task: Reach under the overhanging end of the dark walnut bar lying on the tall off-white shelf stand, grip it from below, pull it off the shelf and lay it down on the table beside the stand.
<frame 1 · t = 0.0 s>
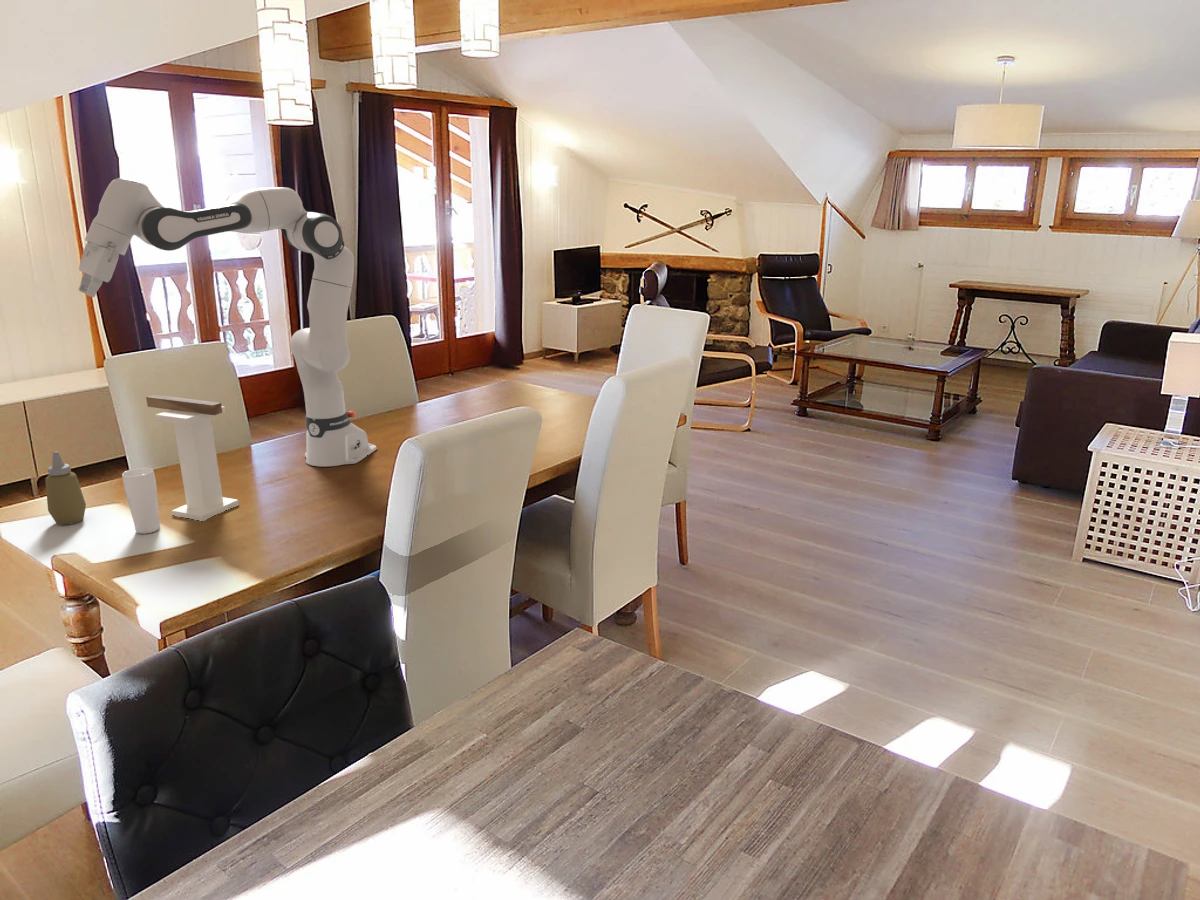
hand: (85, 294, 208), 54 cm above the table, tool tilted 30°, fingers open, 8 cm apart
walnut bar: (184, 409, 212), point 26 cm above the table, touching shelf stand
shelf stand: (206, 510, 220), on the table
drinking glass: (148, 531, 208), on the table
squeeze bottle: (70, 522, 213), on the table
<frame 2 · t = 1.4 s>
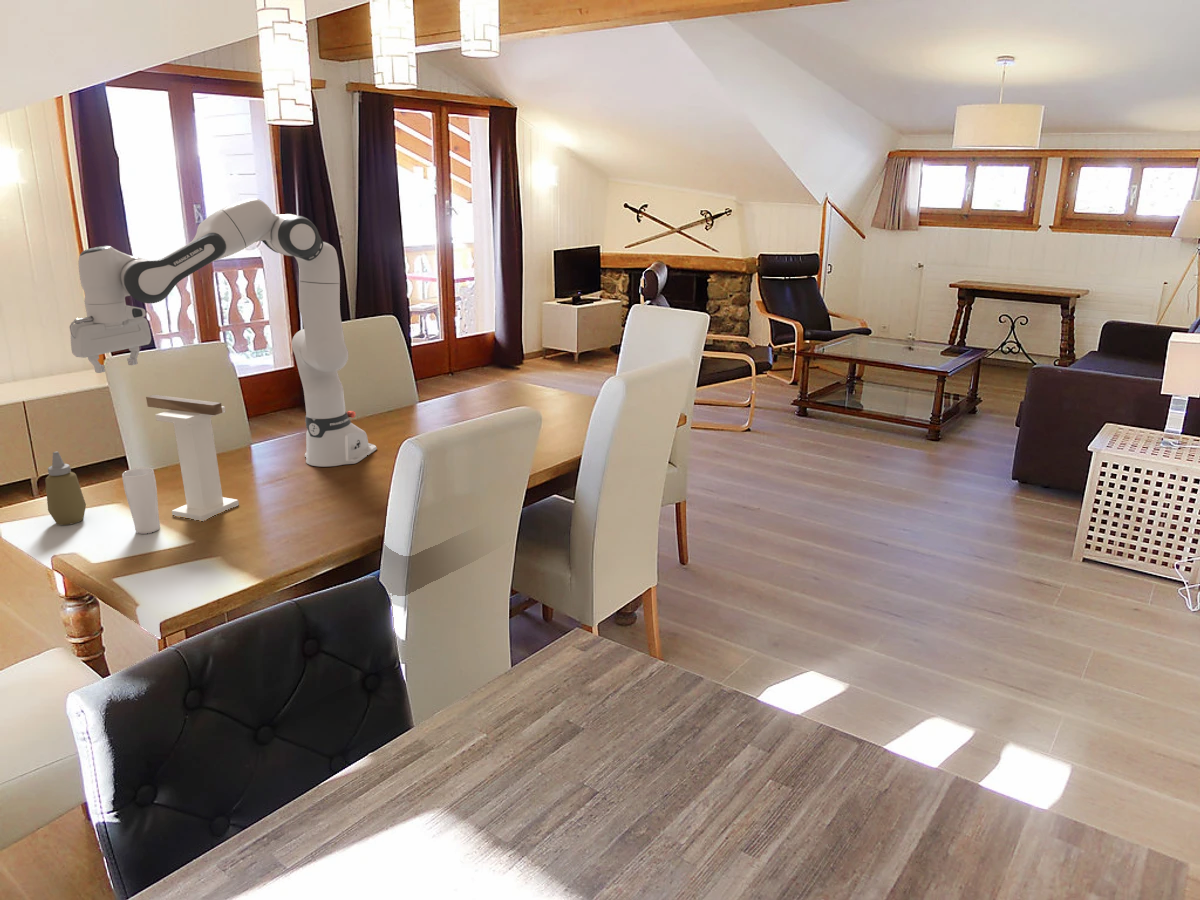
hand: (117, 368, 217), 35 cm above the table, tool pointing down, fingers open, 8 cm apart
nothing on the table moved.
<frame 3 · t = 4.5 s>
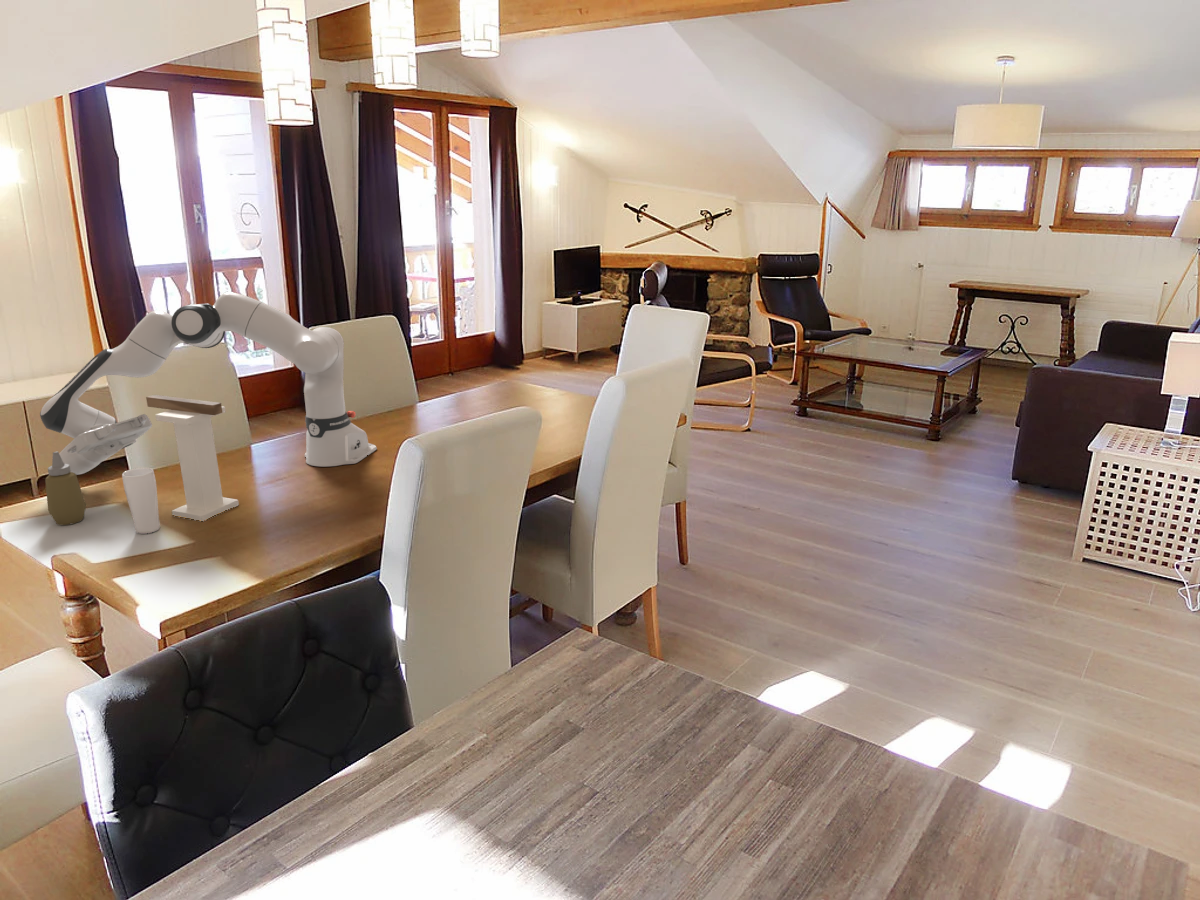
hand: (128, 421, 221), 21 cm above the table, tool pointing upward, fingers open, 8 cm apart
nothing on the table moved.
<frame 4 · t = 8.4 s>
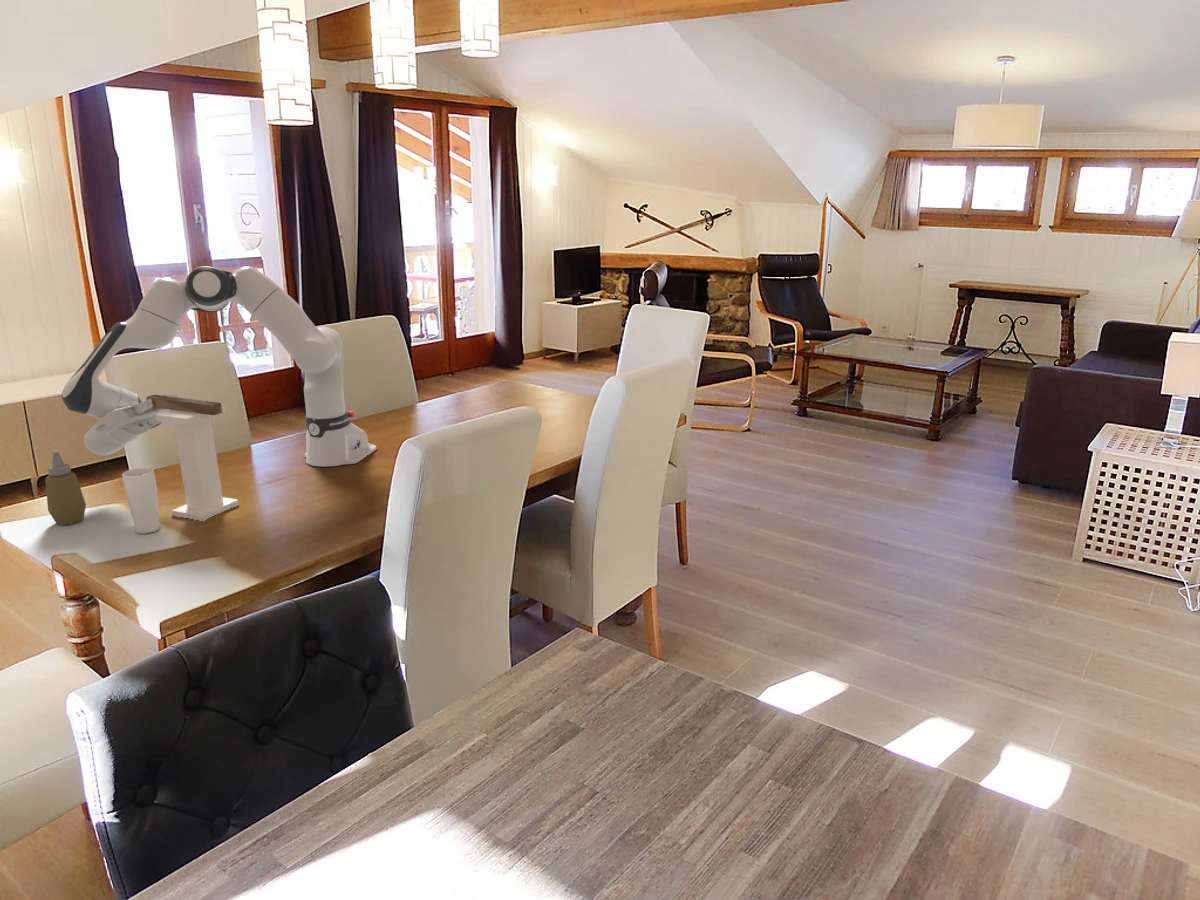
hand: (158, 399, 215), 28 cm above the table, tool pointing upward, fingers closed on walnut bar, 2 cm apart
walnut bar: (184, 409, 212), point 27 cm above the table, touching gripper, shelf stand
everything else where it was.
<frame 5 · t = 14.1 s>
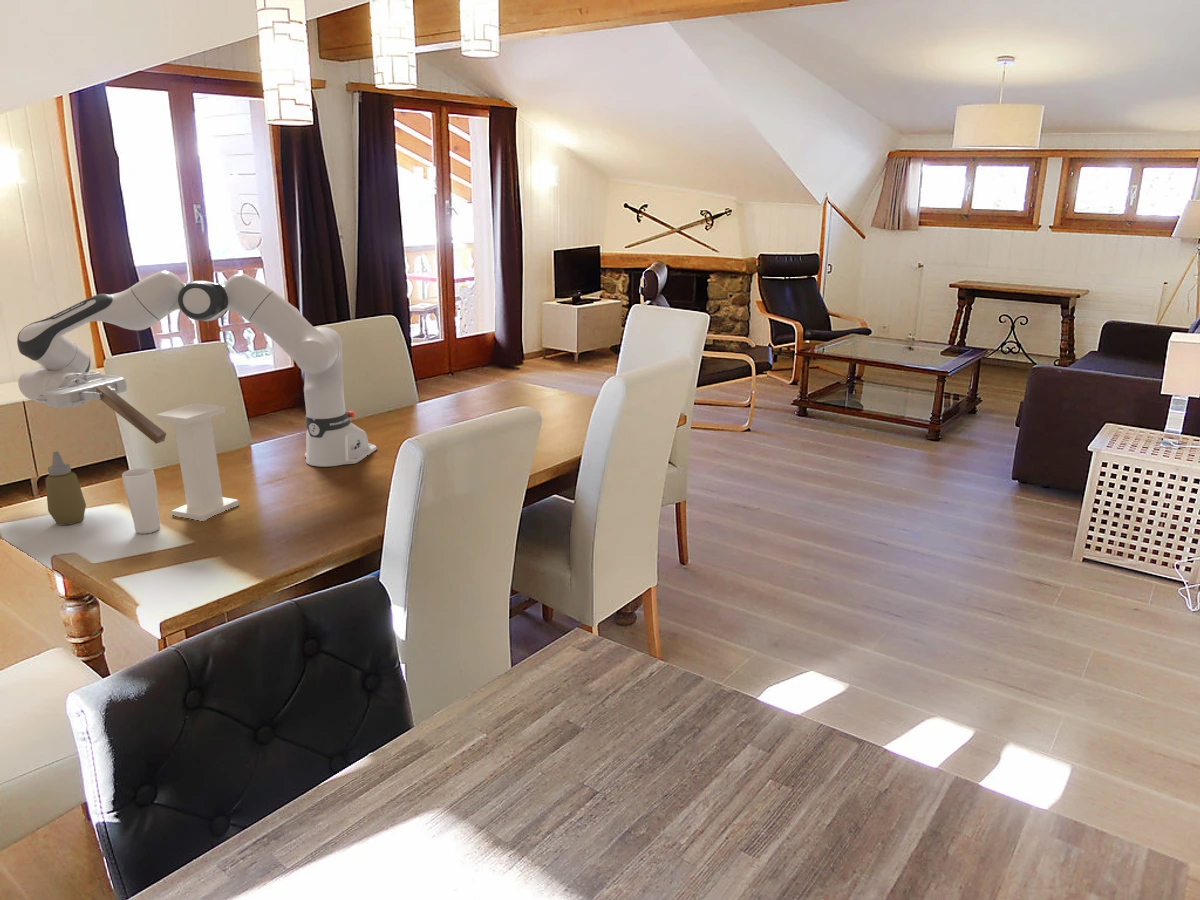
hand: (107, 394, 221), 28 cm above the table, tool horizontal, fingers closed on walnut bar, 2 cm apart
walnut bar: (129, 417, 221), point 22 cm above the table, tilted 30°, touching gripper
everything else where it was.
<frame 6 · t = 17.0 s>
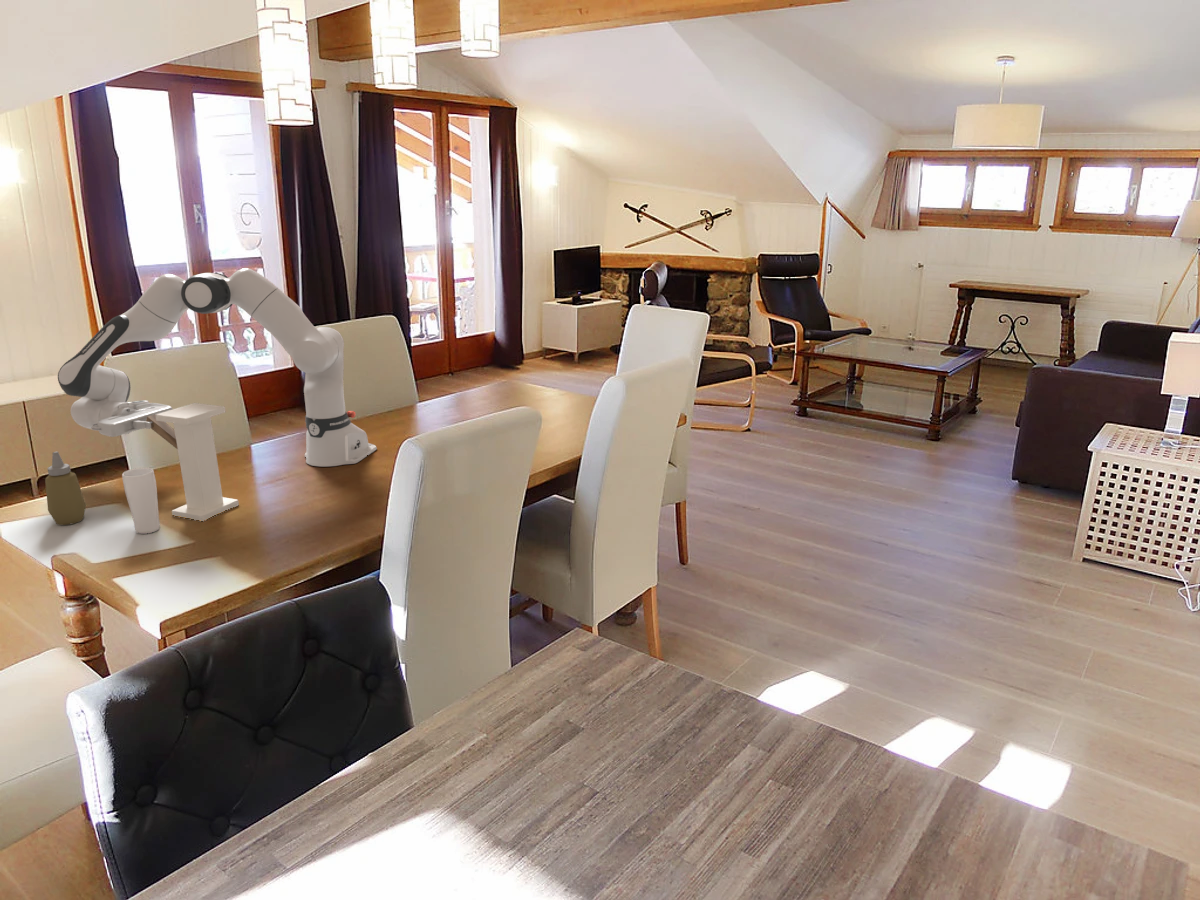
hand: (157, 423, 233), 18 cm above the table, tool horizontal, fingers closed on walnut bar, 2 cm apart
walnut bar: (178, 445, 233), point 12 cm above the table, tilted 30°, touching gripper
everything else where it was.
when the fingers open (6 cm above the table, at t = 19.6 s): walnut bar drops 3 cm, on the table.
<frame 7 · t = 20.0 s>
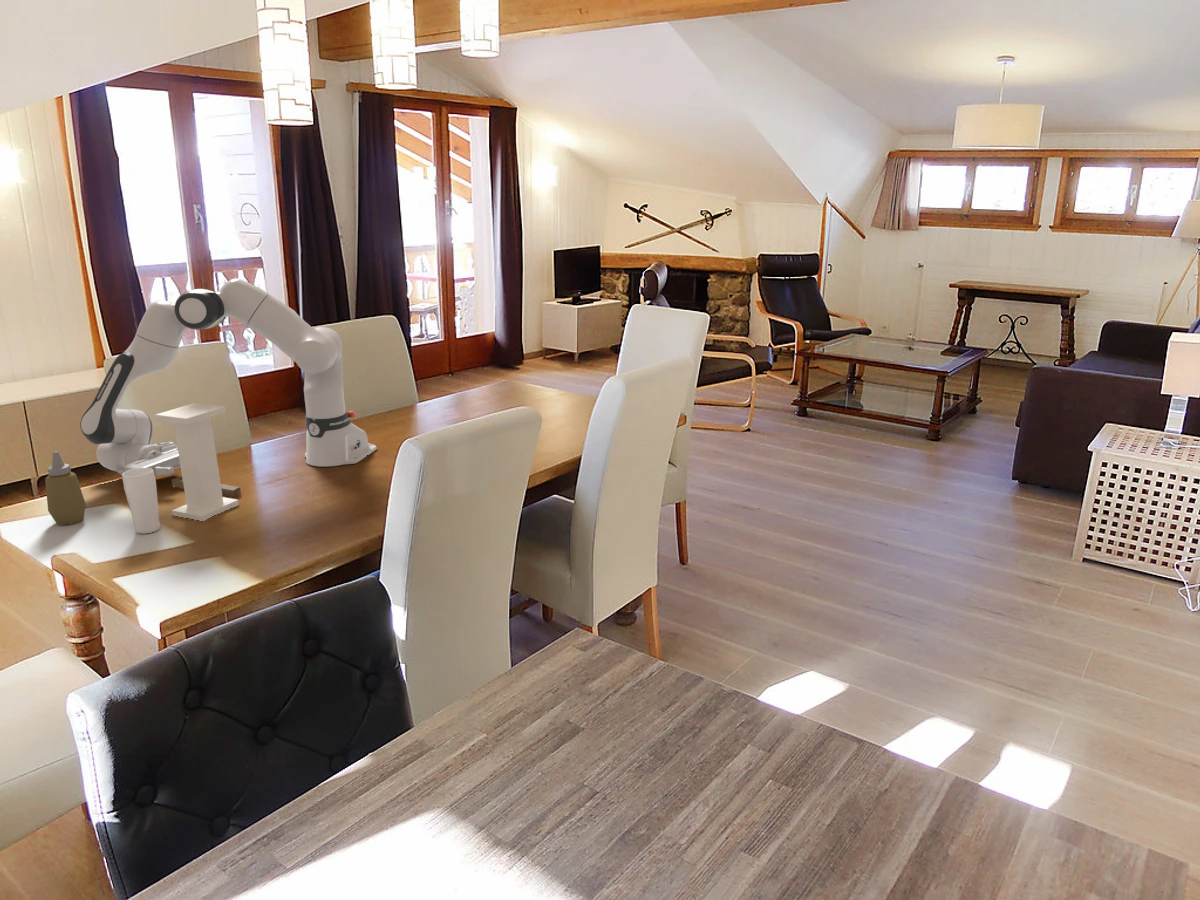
hand: (184, 466, 234), 6 cm above the table, tool horizontal, fingers open, 7 cm apart
walnut bar: (206, 492, 234), on the table
everything else where it was.
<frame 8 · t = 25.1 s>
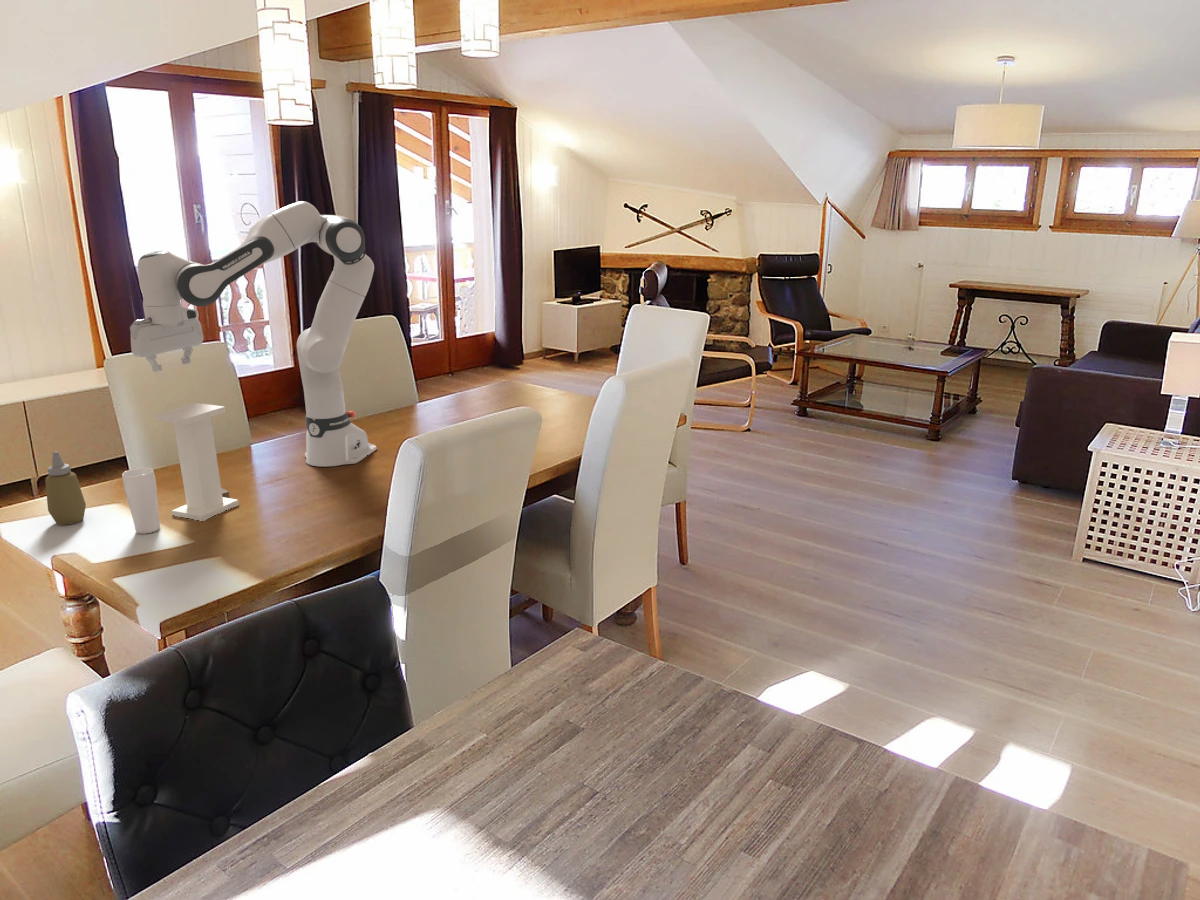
hand: (172, 367, 228), 33 cm above the table, tool pointing down, fingers open, 8 cm apart
at the end: walnut bar inside the target area (1.8 cm from its centre), on the table; walnut bar touching table; the gripper is holding nothing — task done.
